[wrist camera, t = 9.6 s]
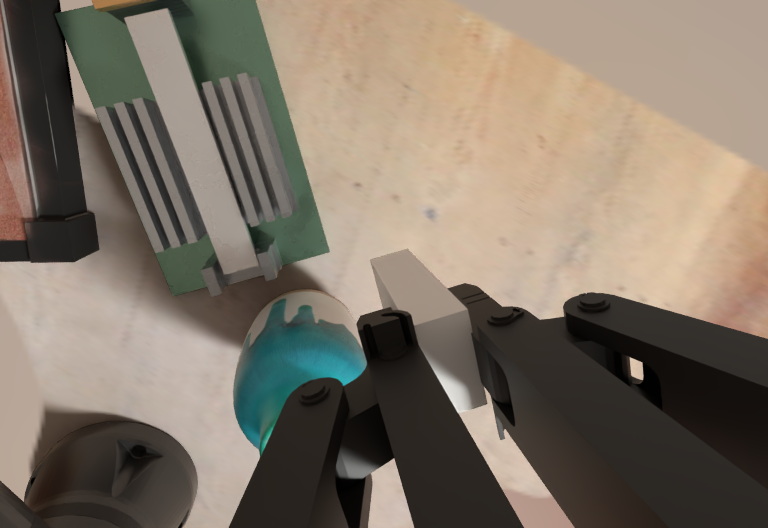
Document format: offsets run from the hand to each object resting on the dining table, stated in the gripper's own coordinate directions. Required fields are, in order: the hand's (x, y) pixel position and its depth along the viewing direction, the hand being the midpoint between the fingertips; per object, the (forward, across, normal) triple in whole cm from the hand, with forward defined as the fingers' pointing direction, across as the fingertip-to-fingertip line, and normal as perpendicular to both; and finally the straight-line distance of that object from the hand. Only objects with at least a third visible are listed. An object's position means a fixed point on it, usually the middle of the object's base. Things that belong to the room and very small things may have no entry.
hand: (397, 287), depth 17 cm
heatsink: (+26, -10, +8) cm, 29 cm away
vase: (+27, -7, -11) cm, 30 cm away
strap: (+22, -10, +7) cm, 25 cm away
